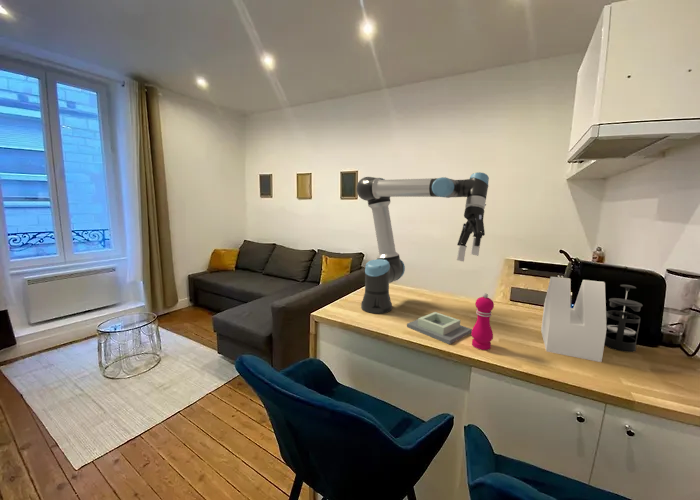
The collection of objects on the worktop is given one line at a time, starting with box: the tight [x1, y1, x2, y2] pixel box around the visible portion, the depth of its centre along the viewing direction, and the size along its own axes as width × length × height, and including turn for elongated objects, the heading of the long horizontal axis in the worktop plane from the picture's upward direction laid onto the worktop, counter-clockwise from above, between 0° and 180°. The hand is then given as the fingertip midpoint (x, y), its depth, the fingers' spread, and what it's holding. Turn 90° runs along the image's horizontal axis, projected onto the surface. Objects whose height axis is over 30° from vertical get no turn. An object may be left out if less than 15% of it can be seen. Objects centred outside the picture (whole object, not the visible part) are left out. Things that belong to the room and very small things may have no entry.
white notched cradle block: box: [540, 276, 607, 363], centre depth 109 cm, size 19×15×25 cm
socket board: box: [406, 311, 473, 345], centre depth 123 cm, size 20×16×4 cm
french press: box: [604, 284, 644, 353], centre depth 109 cm, size 12×9×23 cm
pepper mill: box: [470, 292, 495, 351], centre depth 108 cm, size 7×7×20 cm
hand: (467, 258), depth 120 cm, fingers open, 13 cm apart
